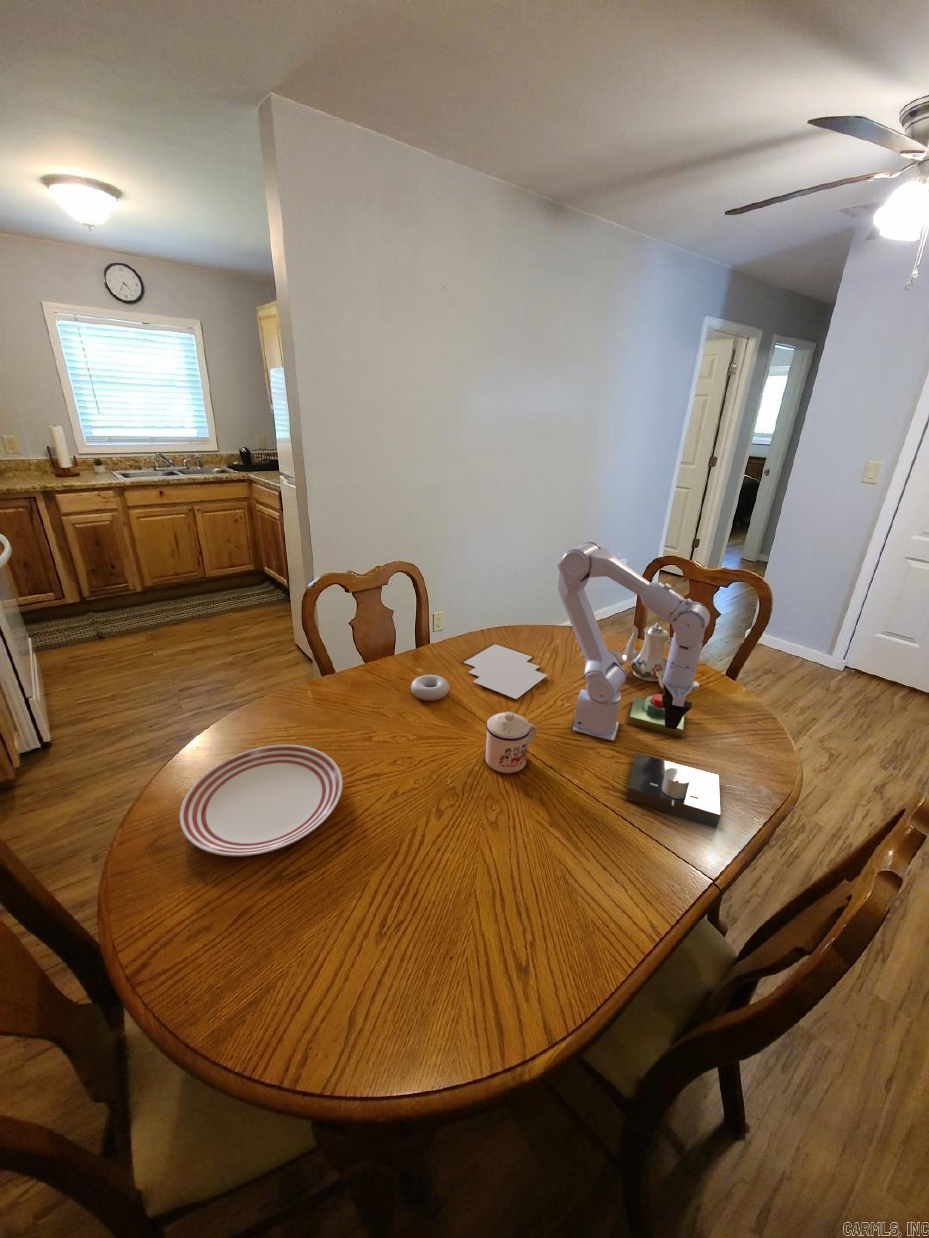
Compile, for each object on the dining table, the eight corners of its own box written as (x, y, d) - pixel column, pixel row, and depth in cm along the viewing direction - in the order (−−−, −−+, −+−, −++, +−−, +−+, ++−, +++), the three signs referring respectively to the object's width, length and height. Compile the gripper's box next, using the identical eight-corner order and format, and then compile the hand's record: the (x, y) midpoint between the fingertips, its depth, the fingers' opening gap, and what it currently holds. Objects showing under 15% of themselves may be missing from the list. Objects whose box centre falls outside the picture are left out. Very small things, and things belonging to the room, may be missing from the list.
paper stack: (445, 672, 141) (445, 670, 140) (494, 644, 159) (495, 642, 159) (516, 701, 128) (516, 699, 128) (561, 666, 146) (561, 664, 146)
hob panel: (624, 804, 95) (627, 791, 94) (633, 763, 106) (635, 751, 105) (717, 833, 89) (721, 819, 88) (715, 786, 100) (719, 774, 99)
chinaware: (585, 678, 144) (590, 627, 136) (606, 653, 156) (612, 605, 148) (688, 711, 129) (700, 656, 122) (702, 680, 141) (714, 628, 134)
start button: (650, 705, 122) (652, 699, 121) (652, 698, 125) (653, 692, 124) (666, 709, 120) (667, 702, 120) (667, 701, 123) (668, 695, 123)
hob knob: (662, 779, 97) (666, 763, 96) (686, 786, 96) (690, 770, 94) (660, 794, 94) (664, 777, 92) (686, 801, 92) (690, 784, 90)
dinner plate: (338, 857, 82) (337, 841, 80) (156, 876, 77) (151, 860, 76) (347, 752, 107) (346, 739, 105) (209, 762, 102) (207, 749, 101)
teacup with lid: (499, 780, 100) (503, 731, 96) (476, 754, 107) (478, 708, 103) (546, 762, 106) (552, 715, 101) (521, 739, 113) (525, 694, 109)
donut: (434, 707, 124) (456, 690, 132) (434, 696, 123) (456, 679, 131) (403, 695, 129) (426, 679, 137) (402, 684, 128) (426, 668, 136)
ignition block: (628, 724, 120) (630, 709, 119) (633, 703, 129) (635, 690, 127) (681, 737, 116) (684, 723, 114) (683, 715, 124) (686, 701, 123)
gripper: (706, 681, 95) (692, 741, 100) (700, 650, 107) (688, 705, 112) (667, 674, 97) (654, 733, 102) (666, 645, 109) (655, 698, 115)
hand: (669, 718), depth 107 cm, fingers open, 7 cm apart
